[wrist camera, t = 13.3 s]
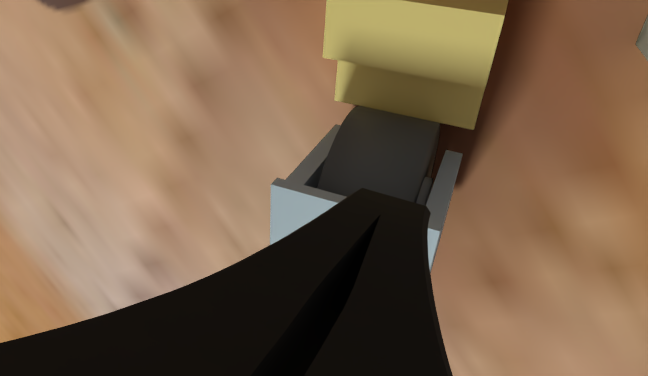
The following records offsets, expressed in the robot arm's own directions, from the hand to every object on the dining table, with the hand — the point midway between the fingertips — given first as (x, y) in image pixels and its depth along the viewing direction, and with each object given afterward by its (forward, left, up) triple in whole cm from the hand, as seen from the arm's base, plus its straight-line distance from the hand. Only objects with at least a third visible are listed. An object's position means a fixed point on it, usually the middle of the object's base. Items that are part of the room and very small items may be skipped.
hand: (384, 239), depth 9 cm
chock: (+1, -1, -10) cm, 10 cm away
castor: (+2, +4, -10) cm, 11 cm away
